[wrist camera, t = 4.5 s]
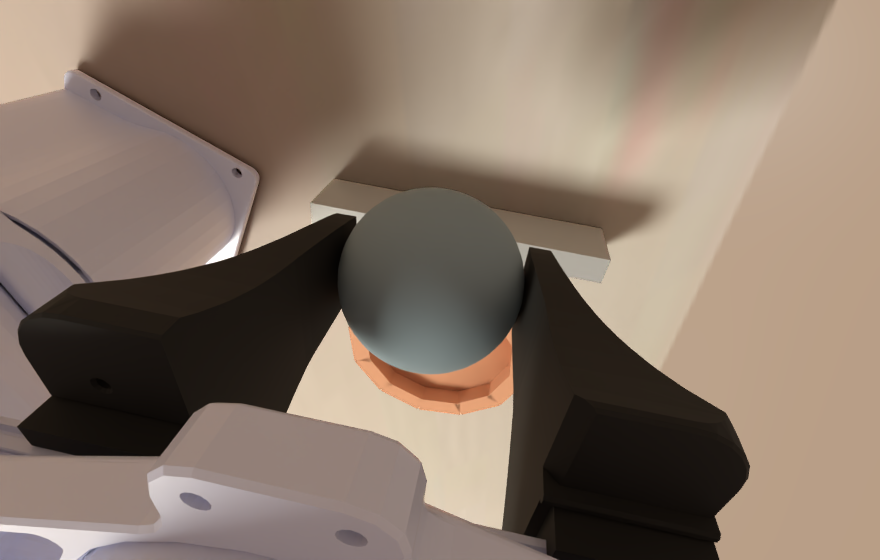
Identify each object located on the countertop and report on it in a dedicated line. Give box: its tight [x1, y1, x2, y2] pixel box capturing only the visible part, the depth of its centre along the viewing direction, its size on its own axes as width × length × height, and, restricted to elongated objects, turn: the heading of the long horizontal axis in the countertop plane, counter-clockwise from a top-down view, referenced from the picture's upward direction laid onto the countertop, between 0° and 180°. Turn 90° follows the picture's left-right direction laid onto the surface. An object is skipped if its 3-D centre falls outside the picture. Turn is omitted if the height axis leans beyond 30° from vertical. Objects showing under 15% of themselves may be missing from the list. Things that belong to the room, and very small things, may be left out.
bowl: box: [349, 327, 513, 415], centre depth 25 cm, size 11×11×2 cm
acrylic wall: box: [310, 179, 611, 283], centre depth 20 cm, size 13×1×3 cm, turn 83°
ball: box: [338, 187, 525, 374], centre depth 12 cm, size 5×5×5 cm
